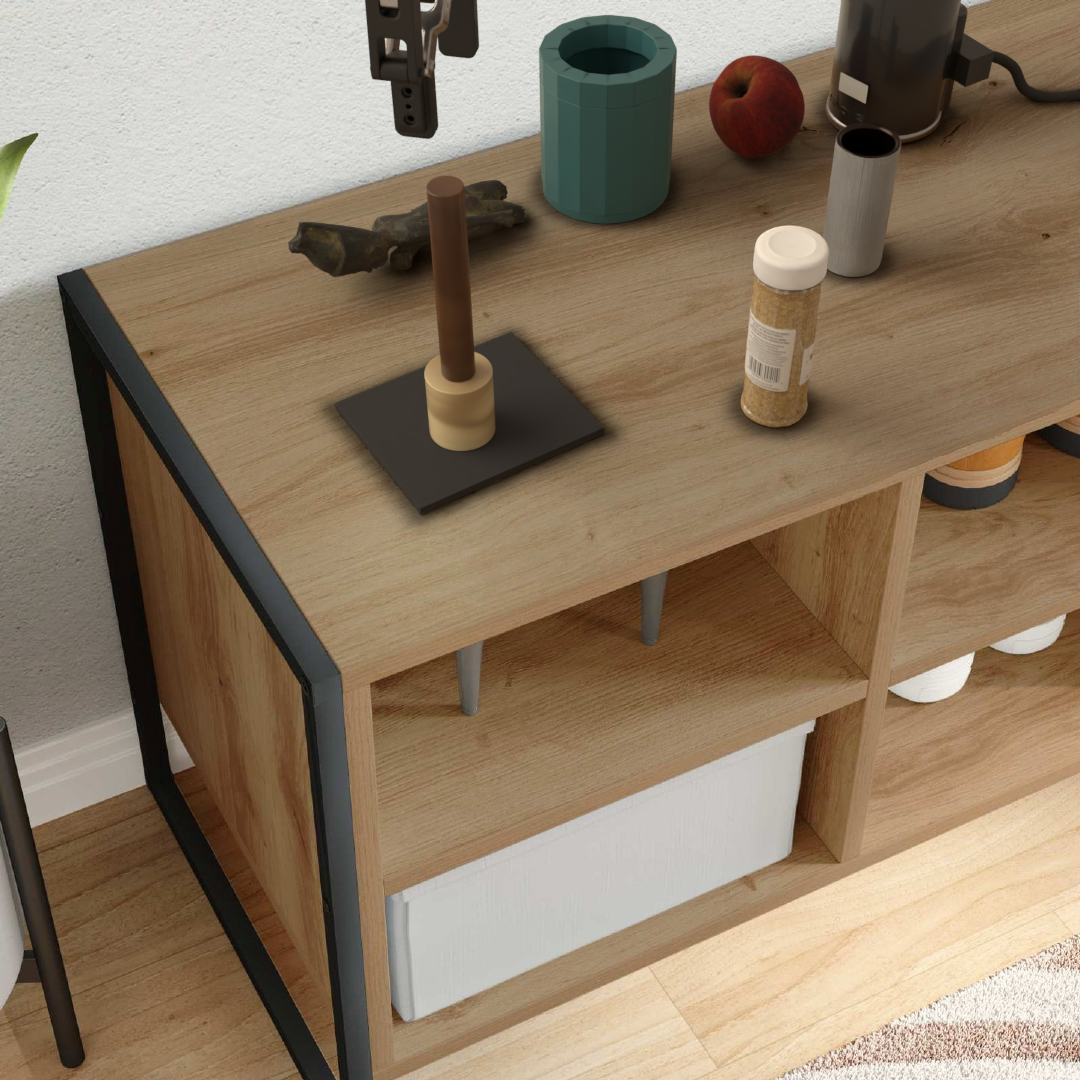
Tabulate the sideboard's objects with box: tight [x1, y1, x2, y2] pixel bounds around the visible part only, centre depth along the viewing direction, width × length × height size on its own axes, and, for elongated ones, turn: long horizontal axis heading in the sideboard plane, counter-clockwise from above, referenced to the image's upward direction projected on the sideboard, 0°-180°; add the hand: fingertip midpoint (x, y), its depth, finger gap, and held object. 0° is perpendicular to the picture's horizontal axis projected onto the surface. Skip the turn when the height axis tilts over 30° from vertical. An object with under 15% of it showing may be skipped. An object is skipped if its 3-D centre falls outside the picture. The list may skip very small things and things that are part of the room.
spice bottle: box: [740, 224, 829, 428], centre depth 102 cm, size 5×5×13 cm
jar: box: [538, 14, 678, 225], centre depth 120 cm, size 10×10×12 cm
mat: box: [334, 331, 605, 516], centre depth 106 cm, size 14×12×1 cm
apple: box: [708, 54, 806, 159], centre depth 125 cm, size 7×8×8 cm
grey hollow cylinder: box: [821, 123, 902, 278], centre depth 114 cm, size 4×4×10 cm
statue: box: [287, 179, 527, 278], centre depth 117 cm, size 6×6×20 cm
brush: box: [424, 175, 496, 451], centre depth 98 cm, size 4×4×19 cm
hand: (439, 92), depth 87 cm, fingers open, 8 cm apart
